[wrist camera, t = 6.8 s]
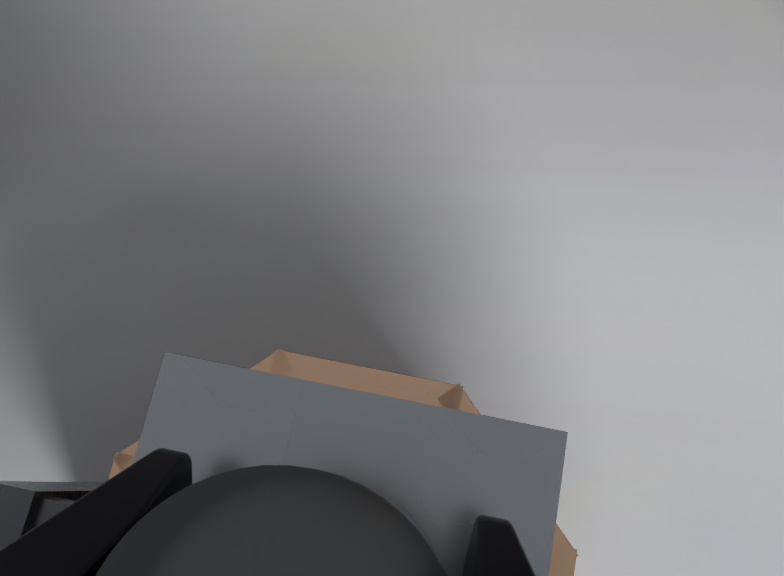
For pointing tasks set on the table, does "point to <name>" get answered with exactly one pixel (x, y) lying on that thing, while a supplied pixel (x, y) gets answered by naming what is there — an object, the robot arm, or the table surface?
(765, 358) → the table surface
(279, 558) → the plunger
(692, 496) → the table surface
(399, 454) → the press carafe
